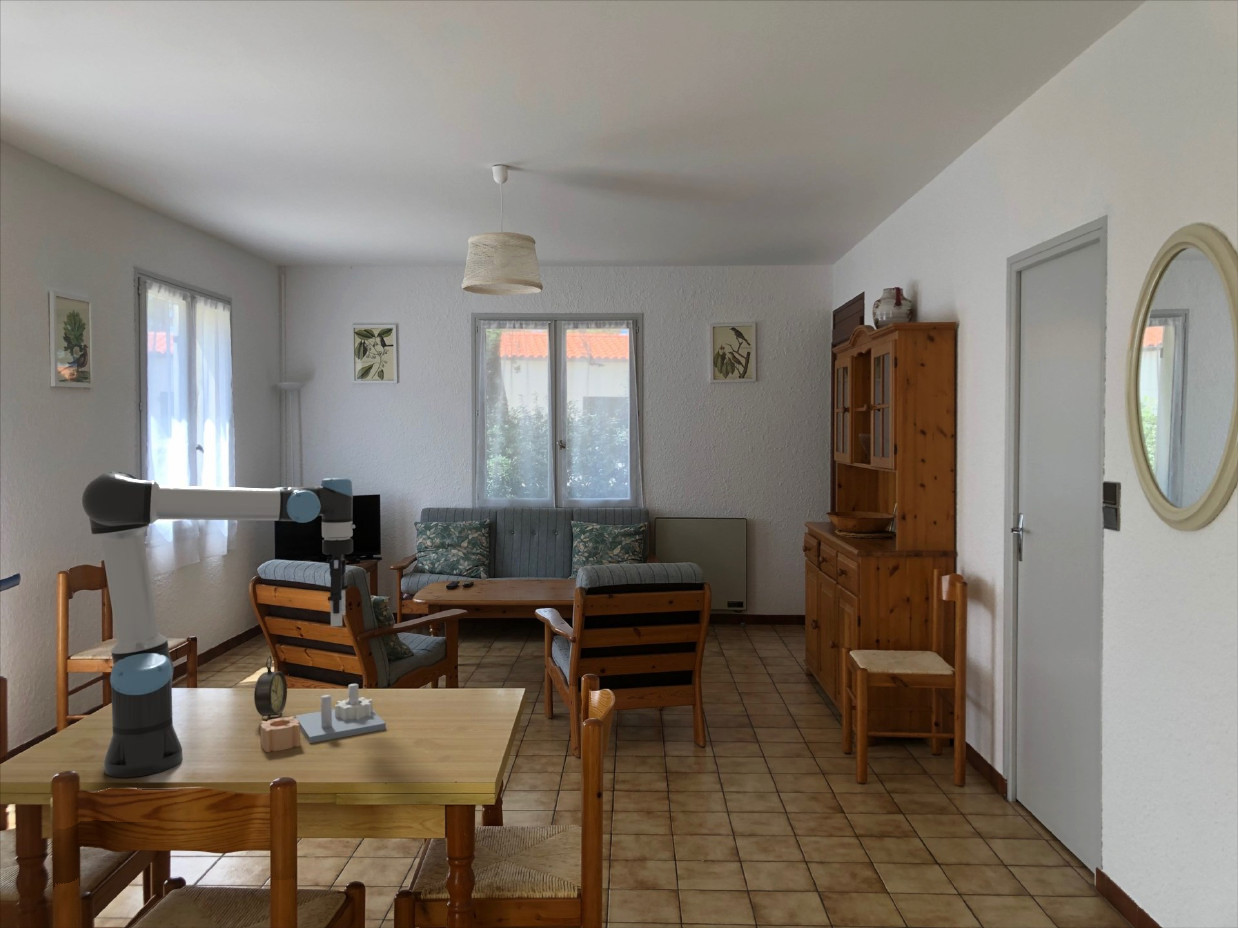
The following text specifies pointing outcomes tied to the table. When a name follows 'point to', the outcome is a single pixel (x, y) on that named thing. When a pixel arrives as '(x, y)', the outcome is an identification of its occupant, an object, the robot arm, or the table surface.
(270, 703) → the alarm clock
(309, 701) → the table surface
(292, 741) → the loose gear
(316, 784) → the table surface
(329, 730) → the gear board
